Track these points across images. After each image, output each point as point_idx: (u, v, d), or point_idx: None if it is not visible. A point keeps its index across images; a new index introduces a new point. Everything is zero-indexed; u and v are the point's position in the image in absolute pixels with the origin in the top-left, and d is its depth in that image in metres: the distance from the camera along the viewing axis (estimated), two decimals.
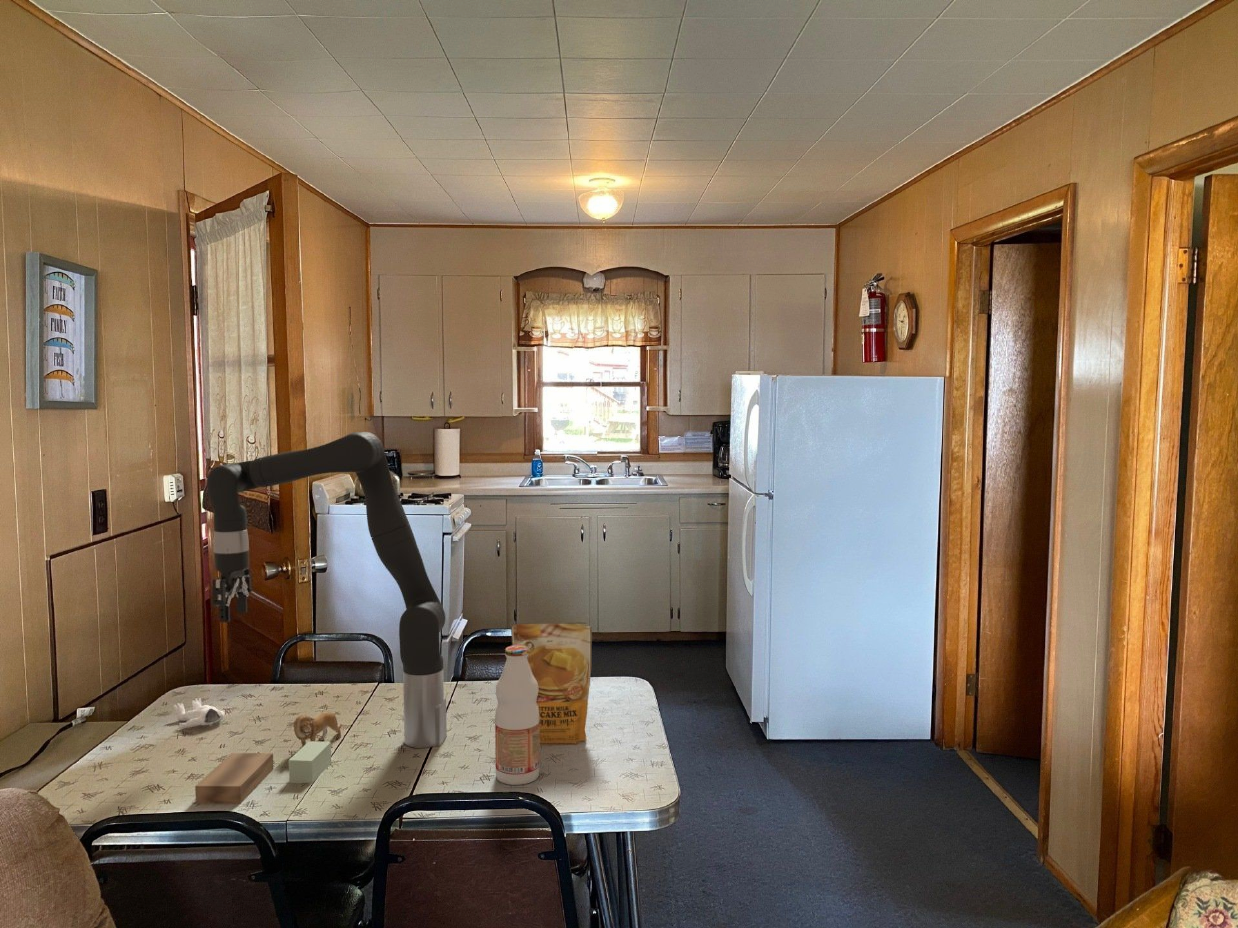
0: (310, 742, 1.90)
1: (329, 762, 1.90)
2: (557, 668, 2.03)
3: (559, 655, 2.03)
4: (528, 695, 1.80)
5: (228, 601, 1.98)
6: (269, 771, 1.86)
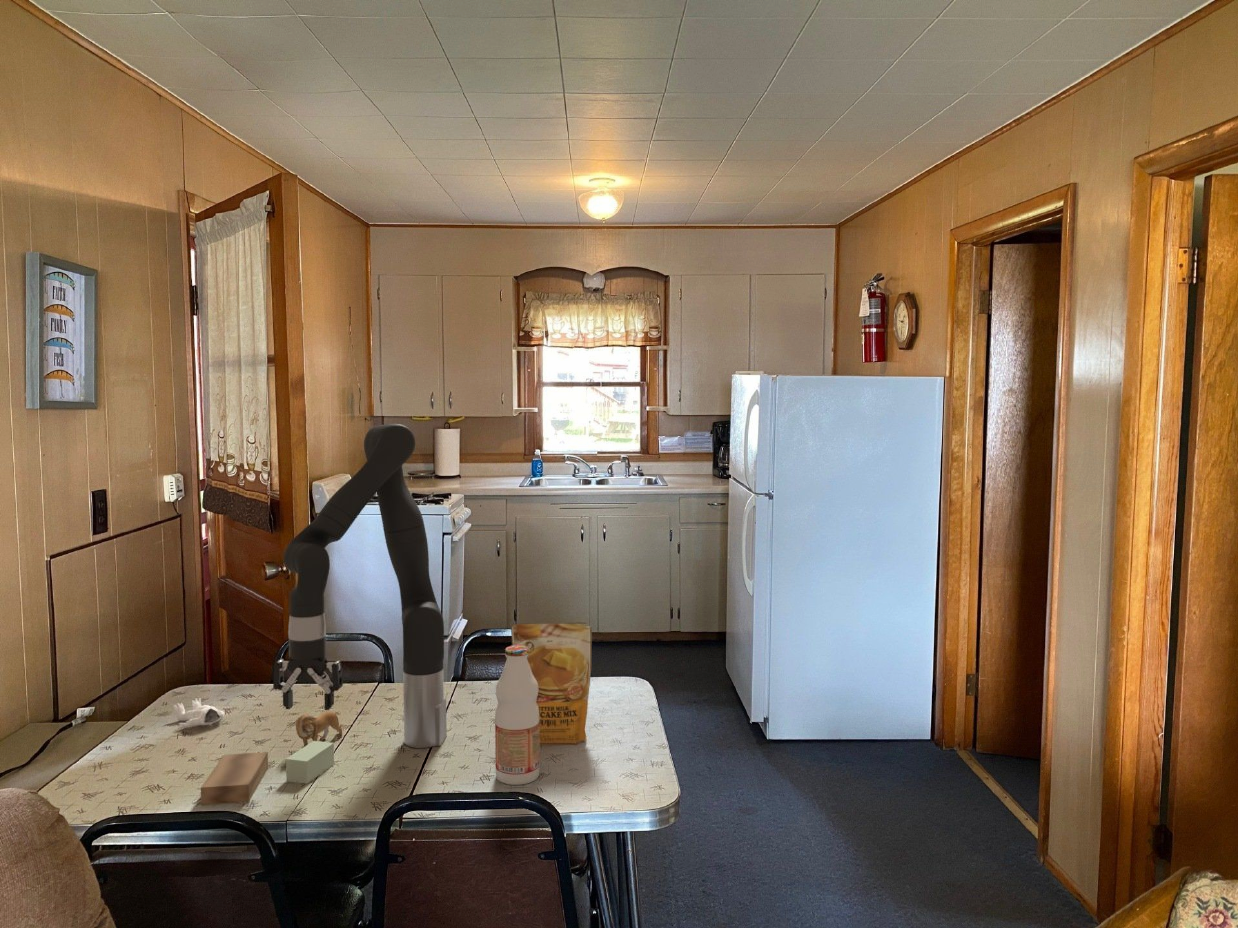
0: (314, 742, 1.91)
1: (331, 763, 1.90)
2: (557, 668, 2.03)
3: (559, 655, 2.03)
4: (528, 695, 1.80)
5: None
6: (265, 770, 1.87)
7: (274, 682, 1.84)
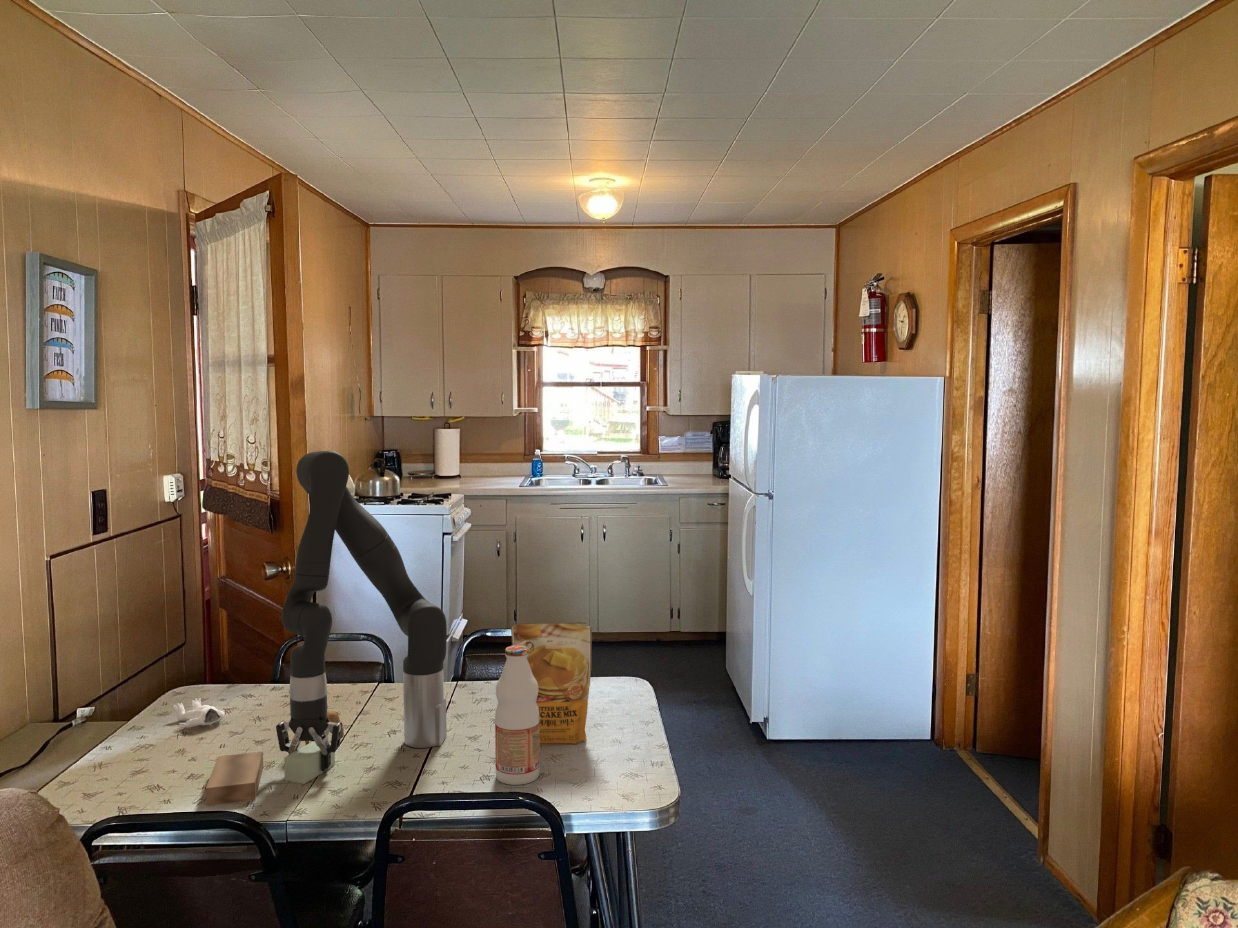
0: None
1: (331, 763, 1.89)
2: (557, 669, 2.03)
3: (559, 655, 2.03)
4: (528, 695, 1.80)
5: None
6: (262, 769, 1.87)
7: (280, 744, 1.85)
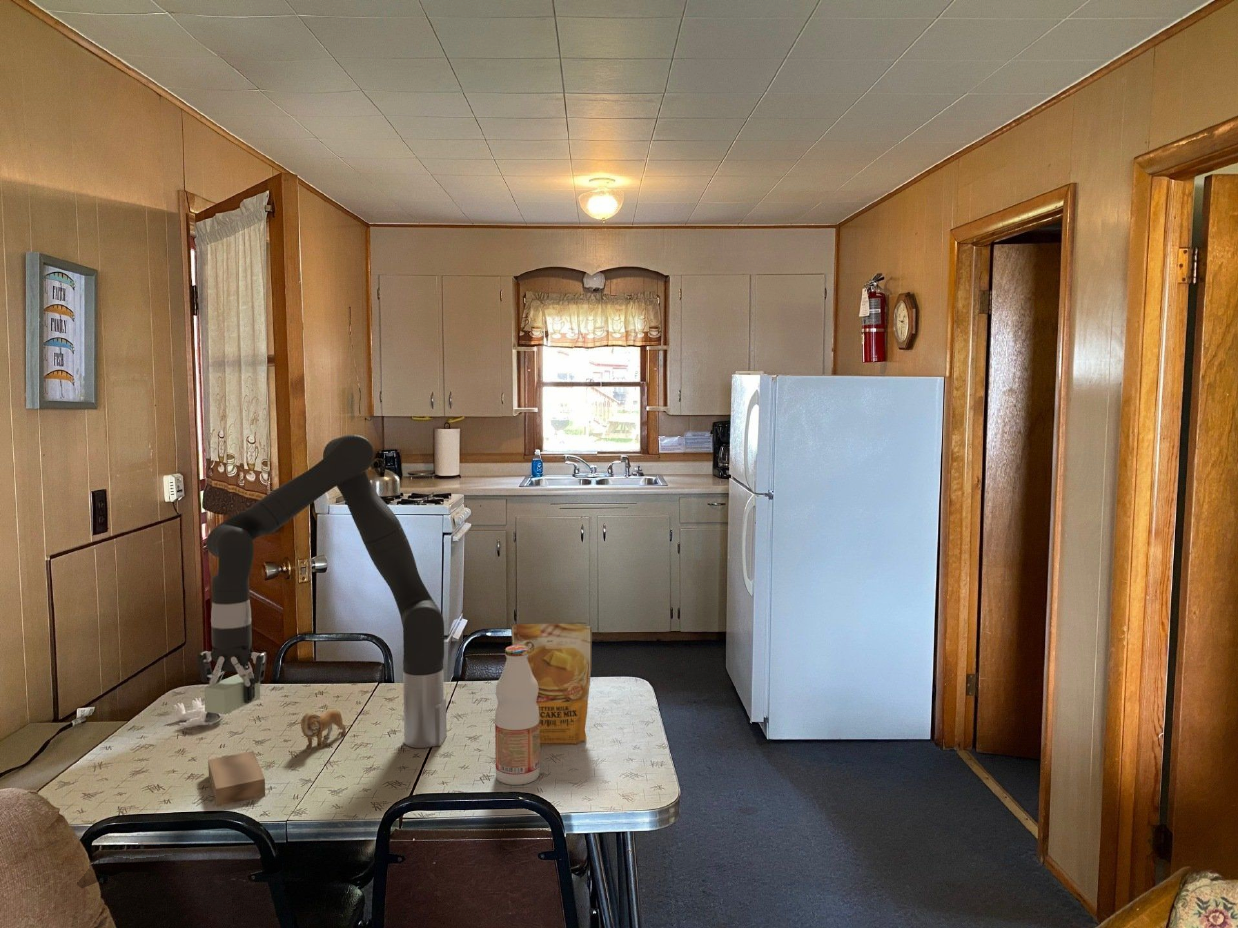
0: None
1: (256, 696, 1.82)
2: (557, 668, 2.03)
3: (559, 655, 2.03)
4: (528, 695, 1.80)
5: None
6: None
7: (201, 675, 1.77)
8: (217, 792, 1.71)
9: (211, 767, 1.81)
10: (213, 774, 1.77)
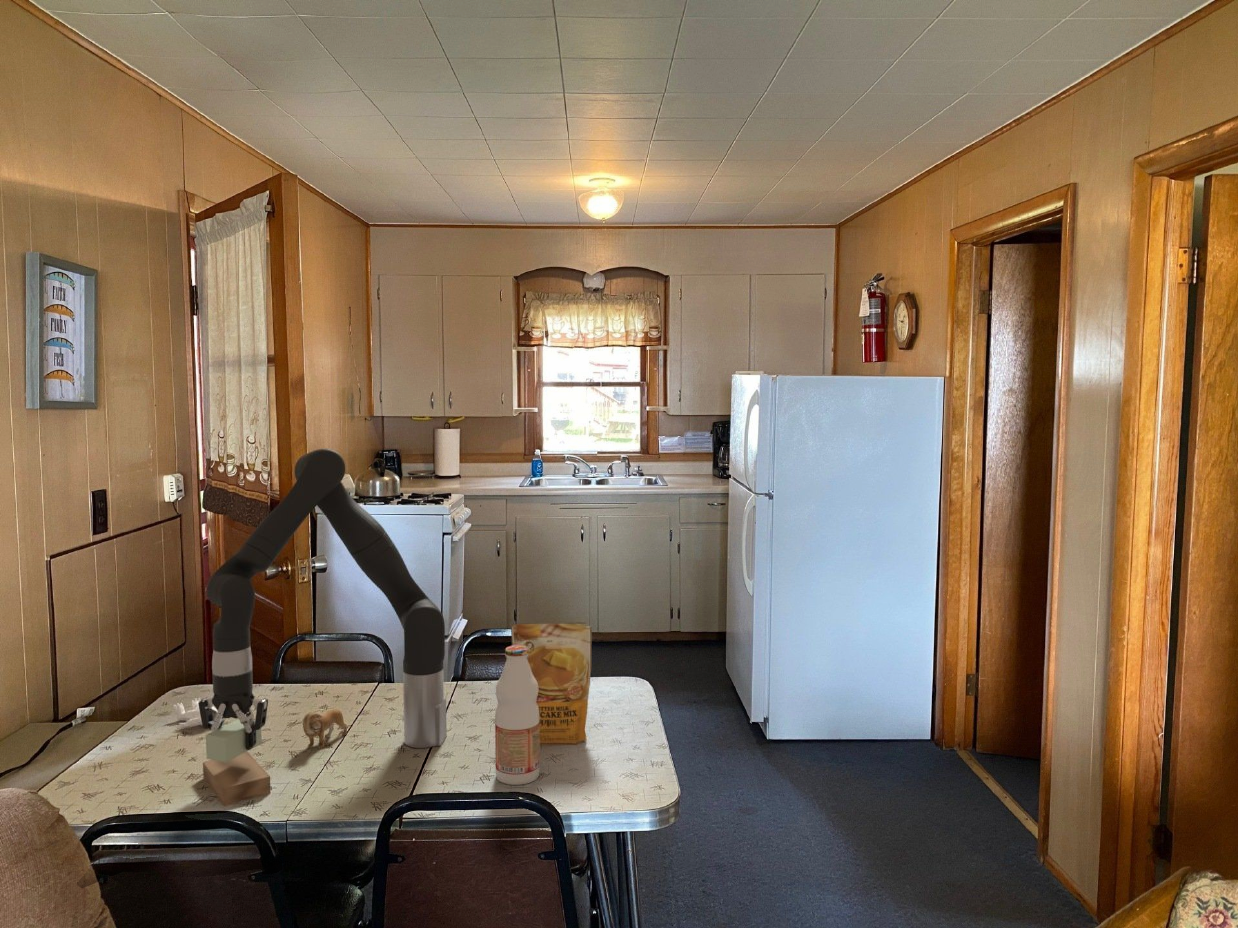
0: None
1: (258, 741, 1.82)
2: (557, 668, 2.03)
3: (559, 655, 2.03)
4: (528, 695, 1.80)
5: None
6: None
7: (202, 722, 1.78)
8: (224, 791, 1.71)
9: (209, 769, 1.80)
10: (214, 775, 1.77)
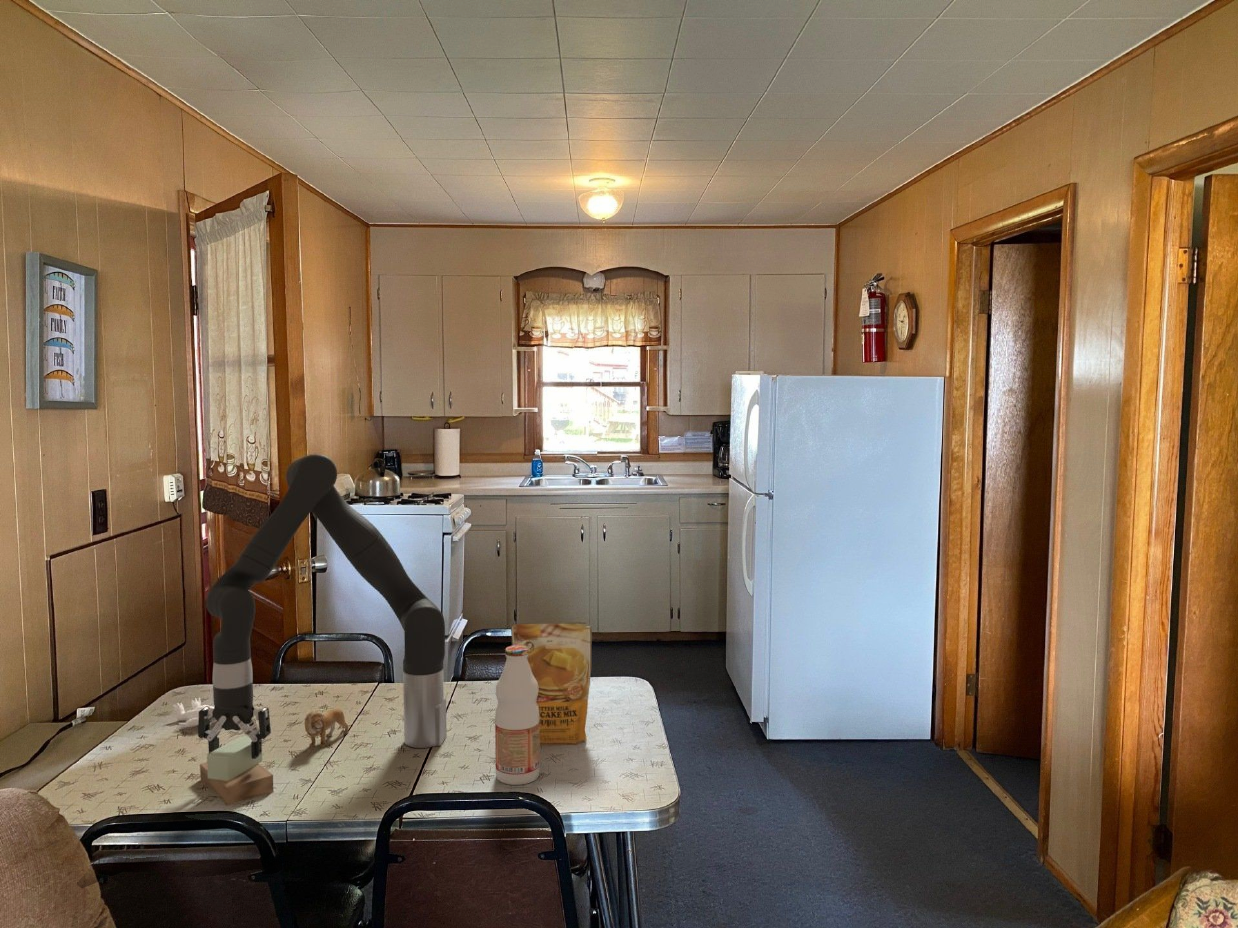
0: (241, 737, 1.84)
1: (258, 759, 1.83)
2: (557, 668, 2.03)
3: (559, 655, 2.03)
4: (528, 695, 1.80)
5: None
6: None
7: (199, 730, 1.78)
8: (228, 791, 1.71)
9: None
10: None
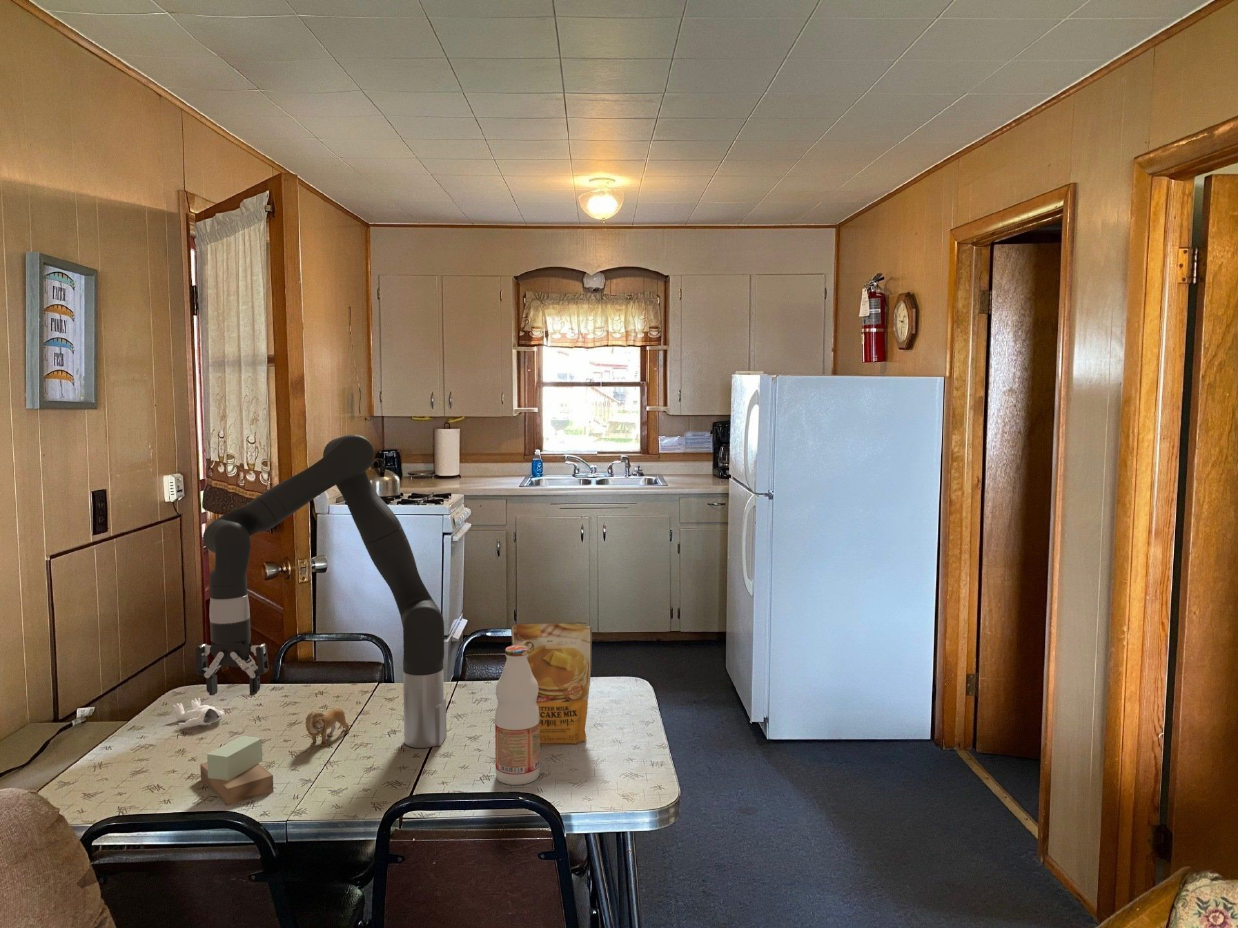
0: (242, 737, 1.84)
1: (259, 759, 1.83)
2: (557, 668, 2.03)
3: (559, 655, 2.03)
4: (528, 695, 1.80)
5: None
6: None
7: (196, 667, 1.77)
8: (228, 792, 1.71)
9: None
10: None
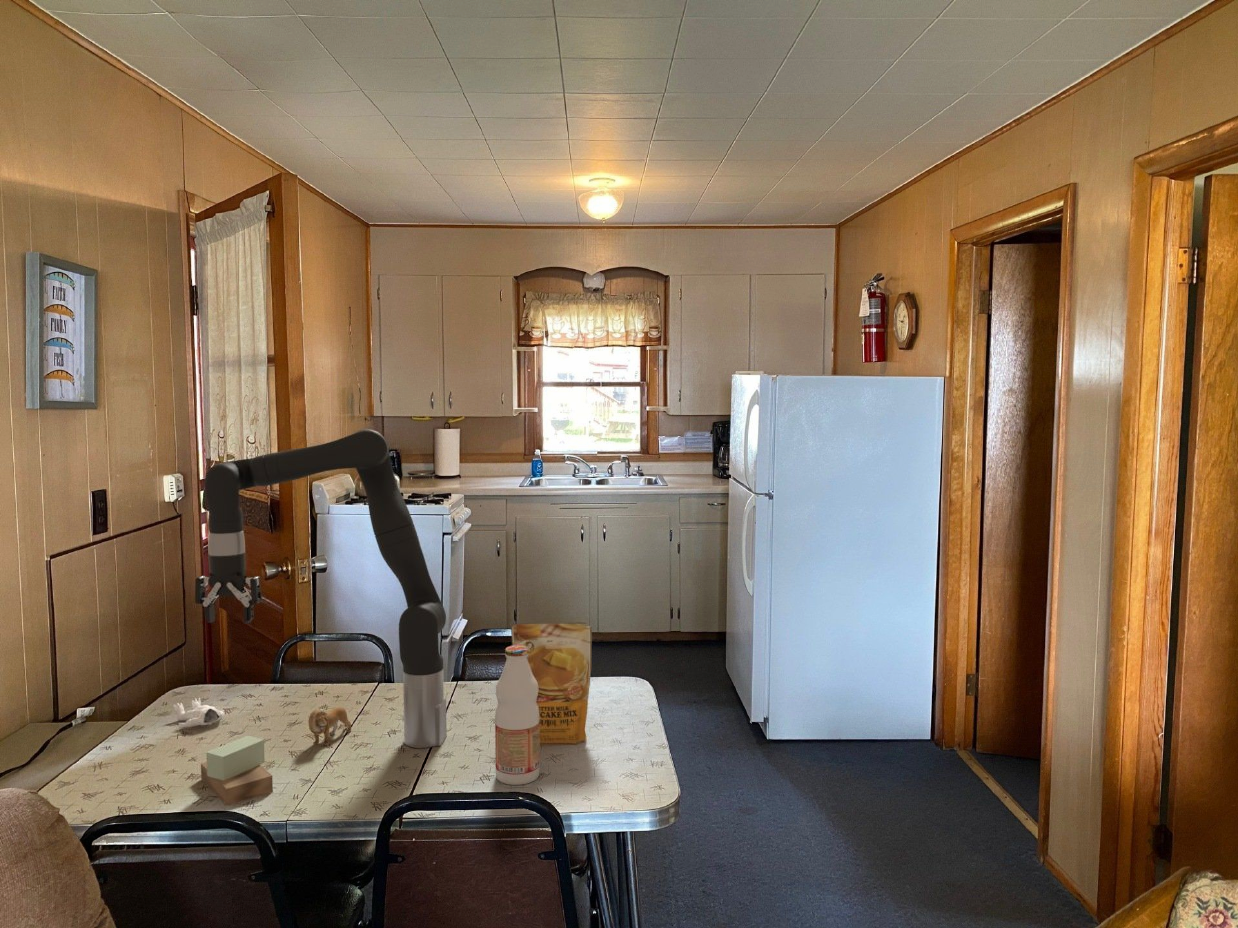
0: (247, 736, 1.84)
1: (260, 761, 1.82)
2: (557, 668, 2.03)
3: (559, 655, 2.03)
4: (528, 695, 1.80)
5: None
6: None
7: (196, 597, 1.94)
8: (227, 792, 1.71)
9: None
10: None
